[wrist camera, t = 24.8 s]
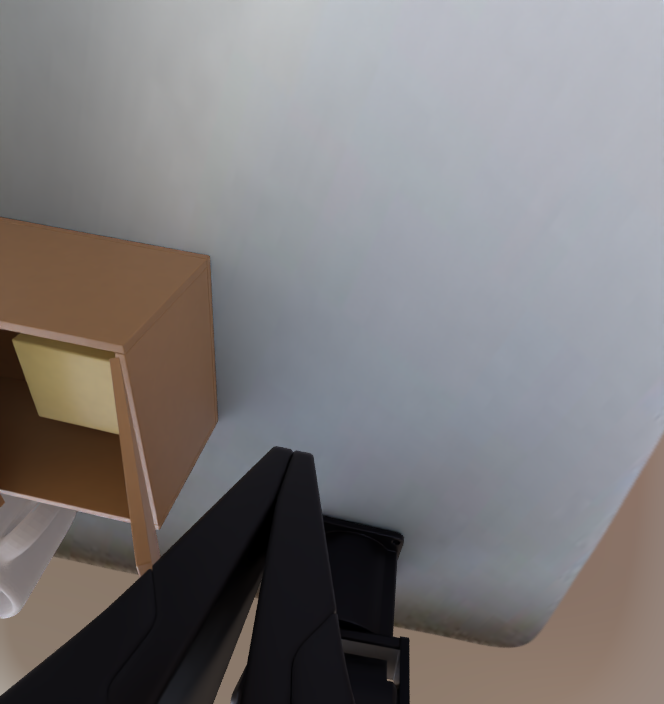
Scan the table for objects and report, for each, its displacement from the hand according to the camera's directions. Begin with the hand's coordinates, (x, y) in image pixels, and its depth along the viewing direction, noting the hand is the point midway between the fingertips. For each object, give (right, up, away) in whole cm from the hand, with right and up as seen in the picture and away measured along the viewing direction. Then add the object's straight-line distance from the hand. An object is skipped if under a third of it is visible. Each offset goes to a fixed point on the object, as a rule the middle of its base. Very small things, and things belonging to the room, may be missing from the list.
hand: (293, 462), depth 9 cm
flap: (-5, -4, +5) cm, 9 cm away
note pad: (-10, +3, +14) cm, 18 cm away
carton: (-13, +4, +15) cm, 20 cm away
